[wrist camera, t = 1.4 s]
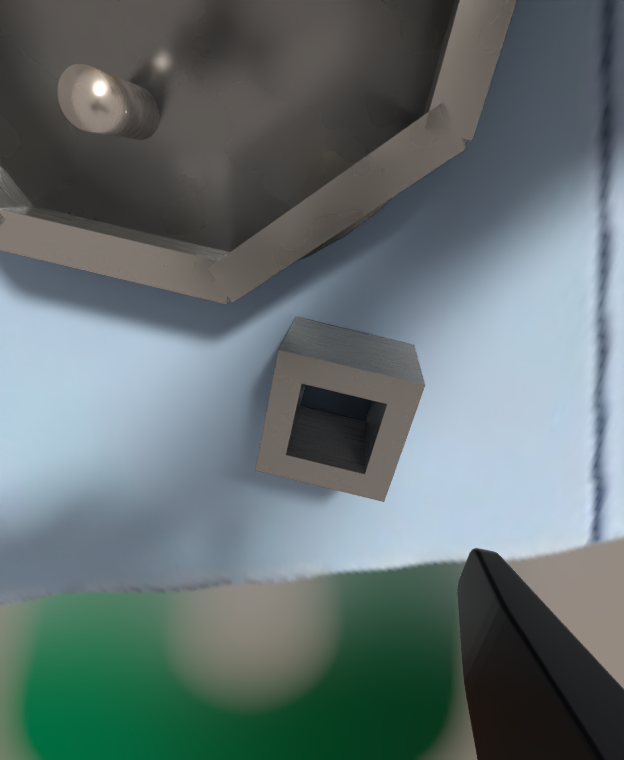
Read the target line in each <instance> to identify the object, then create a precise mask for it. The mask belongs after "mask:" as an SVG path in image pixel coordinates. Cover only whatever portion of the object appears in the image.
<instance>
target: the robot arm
mask: <svg viewBox="0 0 624 760" xmlns="http://www.w3.org/2000/svg"><path fill="white" fill-rule="evenodd" d="M457 597H458V611H459V624H460V638H461V651H462V665H463V676H464V684H465V691H466V698H467V703H468V708H469V714H470V720H471V726H472V731H473V737H474V742H475V748H476V754H477V759H478V760H624V689H623V688H622V687H621V686H620V684H619V683H618V682H617V681H616V680H615V679H614V678H613V677H612V676H611V675H610V674H609V673H608V671H606V669H605V668H604V667H603V666H602V665H601V664H600V663H599V662H598V661H597V660H596V659H595V657H594V656H593V655H592V654H591V653H590V652H589V651H588V650H587V649H586V648H585V647H584V646H583V644H581V642H580V641H579V640H578V639H577V638H576V637H575V636H574V635H573V634H572V633H571V632H570V631H569V630H568V628H567V627H566V626H565V625H564V624H563V623H562V622H561V621H560V620H559V619H558V618H557V616H556V615H554V613H553V612H552V611H551V610H550V609H549V608H548V607H547V606H546V605H545V604H544V603H543V601H542V600H541V599H540V598H539V597H538V596H537V595H536V594H535V593H534V592H533V591H532V590H531V589H530V587H529V586H528V585H527V584H526V583H525V582H524V581H523V580H522V579H521V578H520V577H519V576H518V574H517V573H516V572H515V571H514V570H513V569H512V568H511V567H510V566H509V565H508V564H507V563H506V562H505V560H504V559H503V558H502V557H501V556H500V555H499V554H498V553H496V552H493V551H489V550H484V549H479V548H475V549H473V550H472V551H471V552H470V554H469V556H468V559H467V561H466V563H465V566H464V569H463V571H462V573H461V576H460V578H459V581H458V588H457Z"/></svg>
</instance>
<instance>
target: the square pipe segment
mask: <svg viewBox="0 0 624 760" xmlns="http://www.w3.org/2000/svg"><path fill="white" fill-rule="evenodd" d="M305 385H310V386H314V387H319V388H323V389H327V390H331V391H335V392H339V393H343V394H348V395H352V396H356V397H360V398H364V399H368V400H372V402H371V405H370V409H369V412H368V415H367V419H366V421H361V420H357V419H353V418H349V417H345V416H341V415H337V414H333V413H328V412H324V411H320V410H316V409H312V408H308V407H304V406H301V402H302V398H303V393H304V389H305ZM424 387H425V383H424V379H423V375H422V372H421V368H420V364H419V361H418V357H417V353H416V350H415V346H414V345H413V344H408V343H404V342H400V341H396V340H392V339H387V338H383V337H379V336H375V335H371V334H366V333H362V332H358V331H354V330H350V329H345V328H341V327H337V326H333V325H329V324H324V323H320V322H316V321H312V320H308V319H303V318H299V317H296V318H295V320H294V321H293V323H292V325H291V327H290V329H289V331H288V333H287V334H286V336H285V338H284V340H283V342H282V344H281V346H280V347H279V349H278V354H277V359H276V364H275V370H274V375H273V380H272V385H271V391H270V396H269V401H268V406H267V412H266V417H265V422H264V427H263V433H262V438H261V443H260V449H259V454H258V459H257V464H256V471H260V472H264V473H268V474H272V475H277V476H281V477H285V478H289V479H293V480H297V481H301V482H305V483H309V484H313V485H317V486H321V487H325V488H329V489H334V490H338V491H342V492H346V493H350V494H354V495H358V496H362V497H366V498H370V499H374V500H378V501H382V502H384V501H385V498H386V495H387V492H388V489H389V486H390V484H391V481H392V478H393V475H394V472H395V469H396V466H397V464H398V461H399V458H400V455H401V452H402V449H403V447H404V444H405V441H406V438H407V435H408V432H409V430H410V427H411V424H412V421H413V418H414V415H415V413H416V410H417V407H418V404H419V401H420V398H421V395H422V393H423V390H424Z"/></svg>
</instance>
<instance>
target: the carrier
mask: <svg viewBox="0 0 624 760" xmlns="http://www.w3.org/2000/svg"><path fill="white" fill-rule="evenodd" d="M516 2H517V0H0V250H1V251H5V252H9V253H13V254H17V255H22V256H26V257H30V258H34V259H38V260H43V261H47V262H51V263H55V264H59V265H64V266H68V267H72V268H76V269H80V270H85V271H89V272H93V273H97V274H101V275H106V276H110V277H114V278H118V279H122V280H126V281H131V282H135V283H139V284H143V285H147V286H152V287H156V288H160V289H164V290H168V291H173V292H177V293H181V294H185V295H189V296H194V297H198V298H202V299H206V300H210V301H215V302H219V303H223V304H227V303H228V302H229V301H230V300H231V302H232V303H233V302H235V301H236V300H238V299H239V298H241V297H242V296H244V295H245V294H247V293H248V292H250V291H251V290H253V289H254V288H256V287H257V286H259V285H261V284H262V283H264V282H265V281H267V280H268V279H270V278H271V277H273V276H274V275H276V274H277V273H279V272H280V271H282V270H283V269H285V268H286V267H288V266H289V265H291V264H292V263H294V262H295V261H297V260H300V259H302V258H305V257H307V256H310V255H312V254H314V253H315V252H317V251H319V250H321V249H322V248H324V247H326V246H328V245H330V244H331V243H333V242H335V241H337V240H338V239H340V238H342V237H344V236H345V235H347V234H348V233H350V232H351V231H352V230H354V229H355V228H356V227H358V226H359V225H360V224H362V223H363V222H364V221H366V220H367V219H368V218H370V217H371V216H372V215H374V214H375V213H376V212H378V211H379V210H380V209H381V208H382V207H383V206H384V205H385V204H386V203H387V202H388V201H390V200H391V199H392V198H393V197H394V196H395V195H397V194H398V193H400V192H401V191H403V190H404V189H406V188H407V187H409V186H410V185H412V184H413V183H415V182H417V181H418V180H420V179H421V178H423V177H424V176H426V175H427V174H429V173H430V172H432V171H433V170H435V169H436V168H438V167H439V166H441V165H442V164H444V163H445V162H447V161H448V160H450V159H451V158H453V157H454V156H456V155H457V154H459V153H460V152H462V151H463V150H465V149H466V147H465V145H464V144H465V143H468V142H470V141H472V140H473V137H474V134H475V131H476V127H477V124H478V121H479V118H480V115H481V112H482V109H483V106H484V102H485V99H486V96H487V93H488V90H489V87H490V84H491V80H492V77H493V74H494V71H495V68H496V65H497V62H498V59H499V55H500V52H501V49H502V46H503V43H504V40H505V37H506V34H507V30H508V27H509V24H510V21H511V18H512V15H513V12H514V8H515V5H516Z"/></svg>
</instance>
